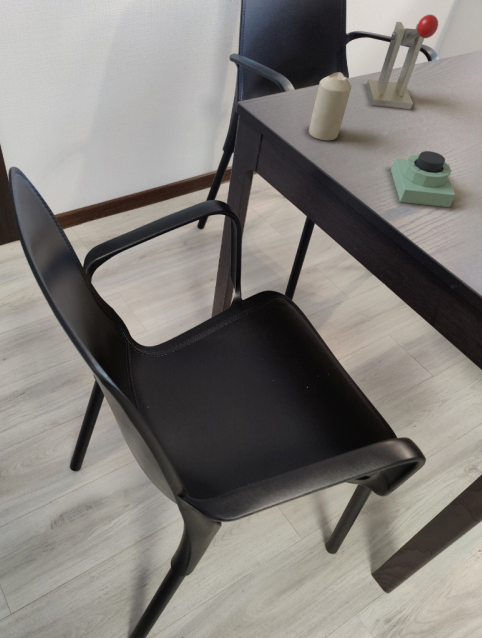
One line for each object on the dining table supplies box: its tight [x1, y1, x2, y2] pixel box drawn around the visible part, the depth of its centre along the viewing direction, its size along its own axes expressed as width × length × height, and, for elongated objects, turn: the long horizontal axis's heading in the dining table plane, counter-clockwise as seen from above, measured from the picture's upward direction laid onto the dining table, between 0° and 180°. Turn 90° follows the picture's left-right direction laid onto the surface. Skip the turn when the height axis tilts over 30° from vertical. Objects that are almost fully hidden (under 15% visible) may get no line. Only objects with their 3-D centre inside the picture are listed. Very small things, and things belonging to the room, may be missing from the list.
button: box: [416, 150, 446, 173], centre depth 80 cm, size 4×4×2 cm
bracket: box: [366, 21, 425, 110], centre depth 101 cm, size 10×8×13 cm
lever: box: [400, 14, 439, 47], centre depth 92 cm, size 14×3×3 cm, turn 174°
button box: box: [390, 153, 456, 208], centre depth 82 cm, size 8×10×4 cm
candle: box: [308, 71, 352, 141], centre depth 90 cm, size 6×6×10 cm
